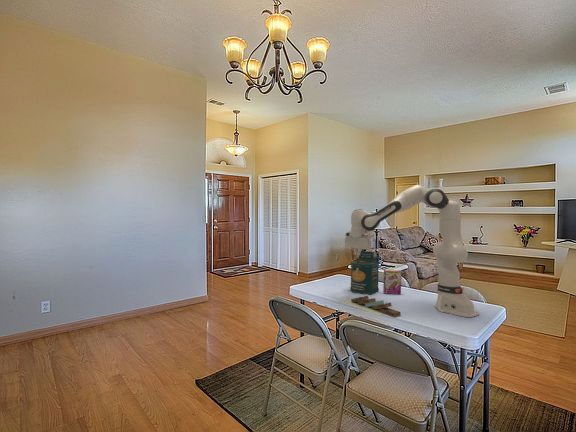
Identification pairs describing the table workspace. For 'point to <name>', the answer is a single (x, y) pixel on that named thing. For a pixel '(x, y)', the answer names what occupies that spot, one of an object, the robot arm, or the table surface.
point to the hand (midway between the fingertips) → (357, 255)
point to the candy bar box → (392, 282)
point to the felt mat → (362, 307)
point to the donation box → (365, 273)
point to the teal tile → (374, 303)
